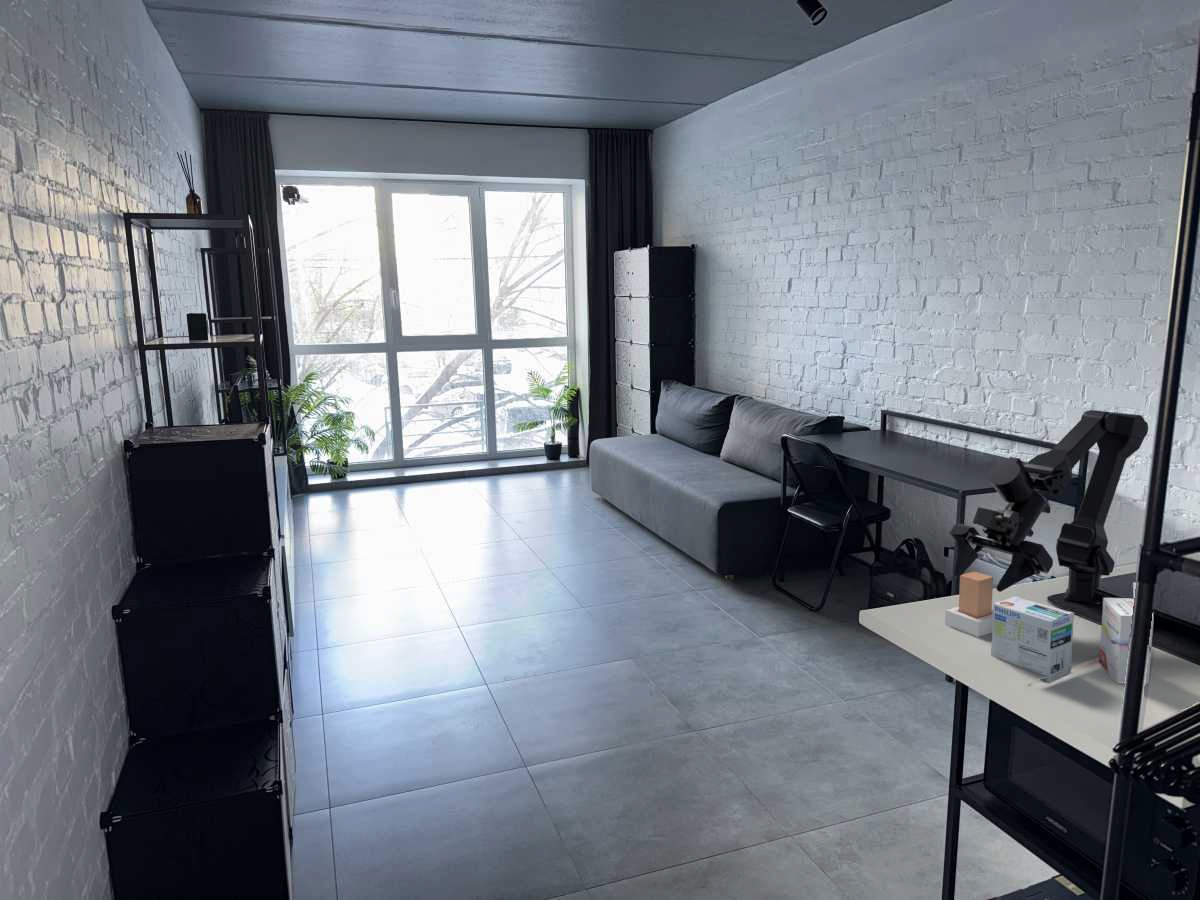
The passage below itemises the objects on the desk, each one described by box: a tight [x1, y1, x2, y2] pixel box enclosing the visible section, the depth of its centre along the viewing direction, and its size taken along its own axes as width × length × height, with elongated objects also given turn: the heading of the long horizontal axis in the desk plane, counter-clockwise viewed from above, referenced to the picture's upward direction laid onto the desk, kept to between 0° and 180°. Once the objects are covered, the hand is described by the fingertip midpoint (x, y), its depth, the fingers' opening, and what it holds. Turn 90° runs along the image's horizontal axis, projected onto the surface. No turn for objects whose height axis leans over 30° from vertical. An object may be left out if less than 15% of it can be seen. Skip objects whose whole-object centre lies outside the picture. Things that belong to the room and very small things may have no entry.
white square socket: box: [944, 605, 993, 638], centre depth 160 cm, size 7×7×3 cm
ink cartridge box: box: [1098, 581, 1155, 686], centre depth 140 cm, size 9×5×15 cm, turn 168°
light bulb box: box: [990, 595, 1075, 684], centre depth 144 cm, size 11×7×11 cm, turn 32°
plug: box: [958, 570, 994, 619], centre depth 159 cm, size 4×4×10 cm
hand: (976, 583), depth 159 cm, fingers open, 9 cm apart
